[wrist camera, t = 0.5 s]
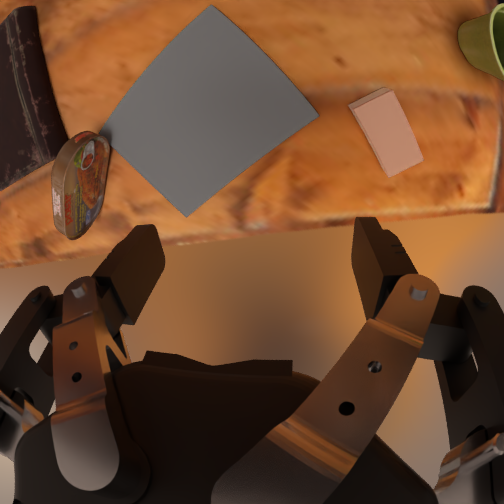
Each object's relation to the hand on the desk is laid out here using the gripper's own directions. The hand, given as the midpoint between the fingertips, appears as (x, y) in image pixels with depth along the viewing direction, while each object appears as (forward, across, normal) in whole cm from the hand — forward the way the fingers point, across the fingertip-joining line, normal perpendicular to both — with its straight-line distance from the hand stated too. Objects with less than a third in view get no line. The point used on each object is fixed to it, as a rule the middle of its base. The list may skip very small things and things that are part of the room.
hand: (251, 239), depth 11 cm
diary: (+21, +37, -15) cm, 45 cm away
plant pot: (+18, -24, -14) cm, 33 cm away
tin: (+21, +23, +1) cm, 31 cm away
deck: (+20, -12, -2) cm, 23 cm away
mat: (+20, +8, -3) cm, 22 cm away
